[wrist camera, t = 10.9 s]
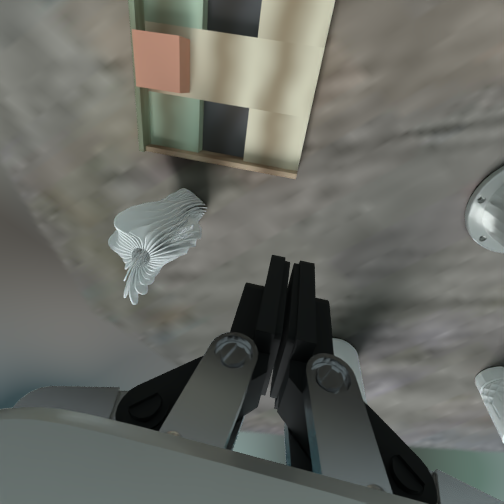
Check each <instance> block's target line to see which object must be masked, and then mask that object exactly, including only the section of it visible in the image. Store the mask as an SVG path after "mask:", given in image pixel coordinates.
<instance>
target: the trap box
mask: <svg viewBox="0 0 504 504" xmlns="http://www.w3.org/2000/svg"><path fill="white" fill-rule="evenodd" d="M334 3H335V0H128V4H129V18H130V31H131V45H132V58H133V72H134V85H135V99H136V112H137V126H138V139H139V151H142V152H144V151H149V152H154V153H159V154H165V155H170V156H175V157H181V158H186V159H191V160H197V161H202V162H207V163H213V164H218V165H223V166H228V167H234V168H239V169H244V170H250V171H255V172H260V173H266V174H271V175H276V176H282V177H287V178H292V179H296V176H297V170H298V166H299V161H300V157H301V152H302V148H303V143H304V139H305V134H306V130H307V125H308V121H309V116H310V112H311V107H312V103H313V98H314V94H315V89H316V85H317V80H318V76H319V71H320V66H321V62H322V57H323V53H324V48H325V44H326V39H327V35H328V30H329V26H330V21H331V17H332V12H333V8H334ZM132 29H135V30H142V31H149V32H156V33H163V34H170V35H178V36H181V37H184V38H187V39H190V93H175V92H169V91H162V90H156V89H150V88H143V87H137V86H136V77H135V64H134V51H133V39H132Z"/></svg>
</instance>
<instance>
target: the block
mask: <svg viewBox="0 0 504 504" xmlns="http://www.w3.org/2000/svg"><path fill="white" fill-rule="evenodd" d="M132 39H133V51H134V64H135V77H136V86H137V87H143V88H150V89H156V90H162V91H169V92H175V93H190V39H187V38H184V37H181V36H178V35H170V34H163V33H156V32H149V31H142V30H135V29H132Z"/></svg>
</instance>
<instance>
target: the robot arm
mask: <svg viewBox="0 0 504 504" xmlns="http://www.w3.org/2000/svg"><path fill="white" fill-rule="evenodd" d="M465 226H466V228H467V231H468V233H469V234H470V236H471V237H472V239H473V240H475V241H476V242H477V243H478V244H479V245H481V246H482V247H484V248H485V249H488V250H491V251H493V252H498V253H504V166H502V167H501V168H499V169H498V170H496V171H495V172H493V173H492V174H491V175H490V176H488V177H487V178H486V179H485V180H484V181H483V182H482V183H481V184H480V185H479V186H478V187H477V189H476V190H475V191H474V193H473V194H472V196H471V198H470V200H469V202H468V204H467V207H466V211H465ZM289 268H290V262H287V261H285V257H281V256H276V255H272V257H271V262H270V266H269V271H268V275H267V280H266V284H265V287H264V286H260V285H255V284H251V283H246V284H245V287H244V290H243V293H242V296H241V299H240V303H239V306H238V309H237V312H236V315H235V318H234V321H233V324H232V327H231V331H230V332H227V333H224V334H221V335H219V336H218V337H216V338H215V339H214V340H213V341H212V342H211V344H210V346H209V347H208V349H207V351H206V353H205V354H204V356H202V357H199V358H197V359H195V360H193V361H191V362H188V363H186V364H184V365H182V366H180V367H177V368H175V369H173V370H171V371H169V372H166V373H164V374H162V375H160V376H158V377H155V378H153V379H151V380H149V381H147V382H144V383H142V384H140V385H138V386H136V387H134V388H133V389H131V390H129V391H120V388H119V387H85V386H84V387H83V386H82V387H81V386H48V387H41V388H38V389H36V390H34V391H31V392H30V393H28V394H27V395H25V396H24V397H23V398H21V399H20V400H19V401H18V402H17V403H16V404H15V406H14V407H13V408H6V409H0V504H504V502H503V501H501V500H499V499H497V498H494V497H493V496H490V495H488V494H486V493H484V492H482V491H480V490H478V489H476V488H474V487H472V486H470V485H468V484H466V483H464V482H462V481H460V480H458V479H456V478H454V477H452V476H450V475H448V474H446V473H444V472H442V471H440V470H438V469H436V470H435V471H434V472H433V471H431V470H429V469H428V468H427V467H426V466H425V464H424V463H423V462H422V461H421V459H420V458H419V457H418V456H417V455H416V454H415V453H414V452H413V451H412V450H411V449H410V448H409V447H408V446H407V445H406V444H405V443H404V442H403V441H402V440H401V439H400V438H399V437H398V435H397V434H396V433H395V432H394V431H393V430H392V429H391V428H390V427H389V426H388V425H387V424H386V423H385V422H384V421H383V420H382V419H381V418H380V417H379V416H378V415H377V414H376V413H375V412H374V411H373V410H372V409H371V408H370V407H369V406H368V405H367V404H366V403H365V402H364V401H363V398H362V395H361V391H360V388H359V385H358V382H357V379H356V376H355V374H354V372H353V370H352V369H351V368H350V366H349V365H348V364H347V363H346V362H344V361H343V360H342V359H341V358H339V357H336V356H334V351H333V339H332V328H331V317H330V305H329V301H328V300H324V299H319V298H315V265H314V263H309V262H304V261H300V263H299V264H296V263H294V265H293V269H292V273H291V277H290V281H289V284H288V277H289ZM287 286H288V288H287ZM273 366H274V367H273ZM272 370H273V375H272V383H271V391H270V397H272V398H275V407H274V409H278V410H277V412H278V414H279V415H280V416H281V418H282V419H283V421H284V422H285V423H284V438H285V455H286V465H284V464H280V463H276V462H272V461H269V460H265V459H261V458H257V457H253V456H250V455H246V454H242V453H239V452H235V451H233V448H234V445H235V443H236V440H237V437H238V434H239V431H240V429H241V426H242V423H243V420H244V416H245V415H246V414H247V413H249V412H251V411H252V410H254V409H255V408H257V407H258V404H259V400H260V396H261V395H264V396H265V394H266V391H267V387H268V384H269V380H270V377H271V373H272Z"/></svg>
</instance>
